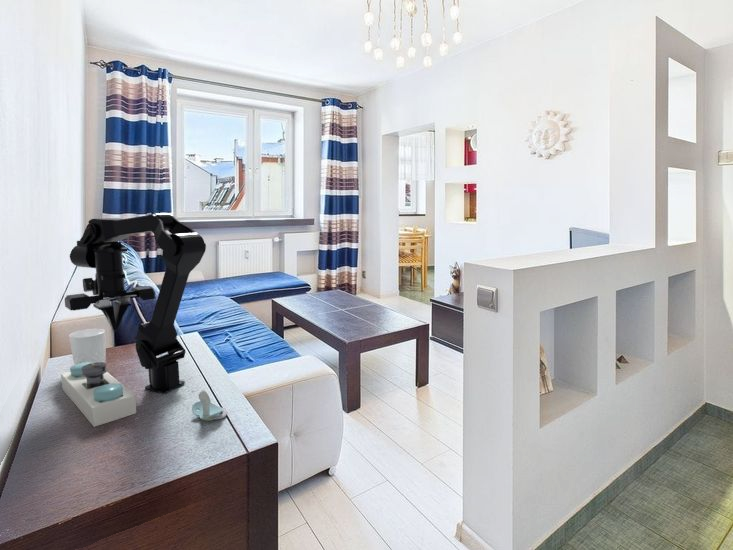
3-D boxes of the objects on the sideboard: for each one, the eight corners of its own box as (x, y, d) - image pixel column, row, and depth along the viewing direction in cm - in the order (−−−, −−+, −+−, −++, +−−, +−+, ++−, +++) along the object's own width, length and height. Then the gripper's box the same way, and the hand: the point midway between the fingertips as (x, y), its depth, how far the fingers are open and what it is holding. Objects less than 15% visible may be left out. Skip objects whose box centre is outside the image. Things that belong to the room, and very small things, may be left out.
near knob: (127, 409, 89) (126, 388, 88) (99, 418, 85) (97, 396, 84) (119, 401, 92) (117, 381, 91) (92, 409, 88) (89, 388, 87)
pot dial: (110, 385, 94) (108, 364, 93) (86, 392, 91) (84, 370, 90) (104, 379, 97) (102, 359, 96) (80, 385, 94) (78, 364, 93)
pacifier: (215, 406, 93) (188, 415, 88) (214, 379, 92) (188, 387, 88) (233, 417, 88) (206, 427, 84) (233, 389, 87) (205, 397, 83)
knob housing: (136, 413, 89) (135, 395, 88) (94, 426, 83) (92, 407, 83) (99, 379, 106) (98, 364, 105) (62, 389, 100) (60, 373, 99)
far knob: (101, 384, 101) (99, 365, 100) (75, 391, 97) (73, 372, 96) (94, 378, 104) (92, 360, 103) (69, 384, 100) (67, 366, 100)
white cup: (106, 361, 118) (103, 326, 116) (109, 370, 112) (106, 333, 110) (72, 367, 113) (68, 331, 112) (73, 377, 107) (69, 339, 106)
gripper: (138, 262, 116) (142, 317, 119) (55, 269, 102) (62, 331, 105) (154, 267, 109) (158, 325, 111) (67, 275, 95) (74, 341, 98)
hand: (115, 330), depth 106 cm, fingers closed
